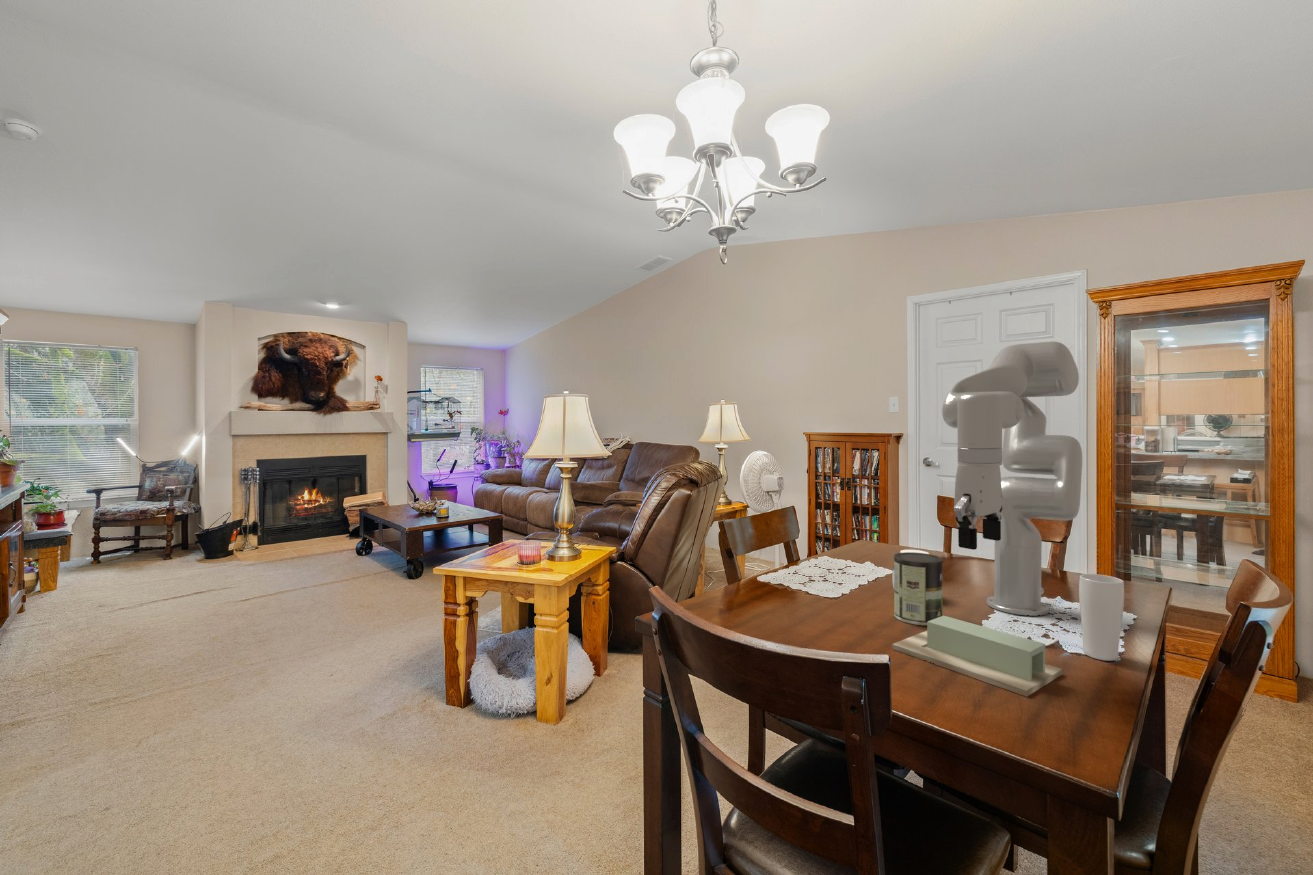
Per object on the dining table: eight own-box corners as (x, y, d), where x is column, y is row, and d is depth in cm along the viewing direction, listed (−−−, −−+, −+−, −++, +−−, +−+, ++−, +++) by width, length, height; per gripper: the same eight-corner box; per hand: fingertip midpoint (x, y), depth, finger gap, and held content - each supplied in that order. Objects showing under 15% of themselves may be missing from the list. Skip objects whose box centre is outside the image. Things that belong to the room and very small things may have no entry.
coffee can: (935, 611, 133) (935, 552, 133) (948, 627, 123) (949, 563, 123) (889, 609, 136) (889, 551, 135) (898, 624, 125) (899, 561, 125)
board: (930, 633, 120) (930, 614, 120) (1061, 674, 100) (1062, 652, 100) (892, 648, 112) (892, 628, 112) (1026, 696, 92) (1026, 672, 92)
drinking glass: (1113, 651, 110) (1115, 575, 109) (1130, 665, 103) (1131, 584, 103) (1072, 647, 112) (1073, 572, 112) (1086, 660, 106) (1087, 581, 105)
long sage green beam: (943, 640, 114) (943, 615, 113) (1045, 672, 99) (1045, 643, 99) (927, 646, 110) (927, 621, 110) (1029, 681, 95) (1030, 651, 95)
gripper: (980, 452, 118) (981, 533, 119) (937, 459, 108) (937, 548, 109) (1020, 454, 111) (1020, 539, 112) (978, 462, 101) (978, 555, 102)
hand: (979, 543), depth 111 cm, fingers open, 9 cm apart
